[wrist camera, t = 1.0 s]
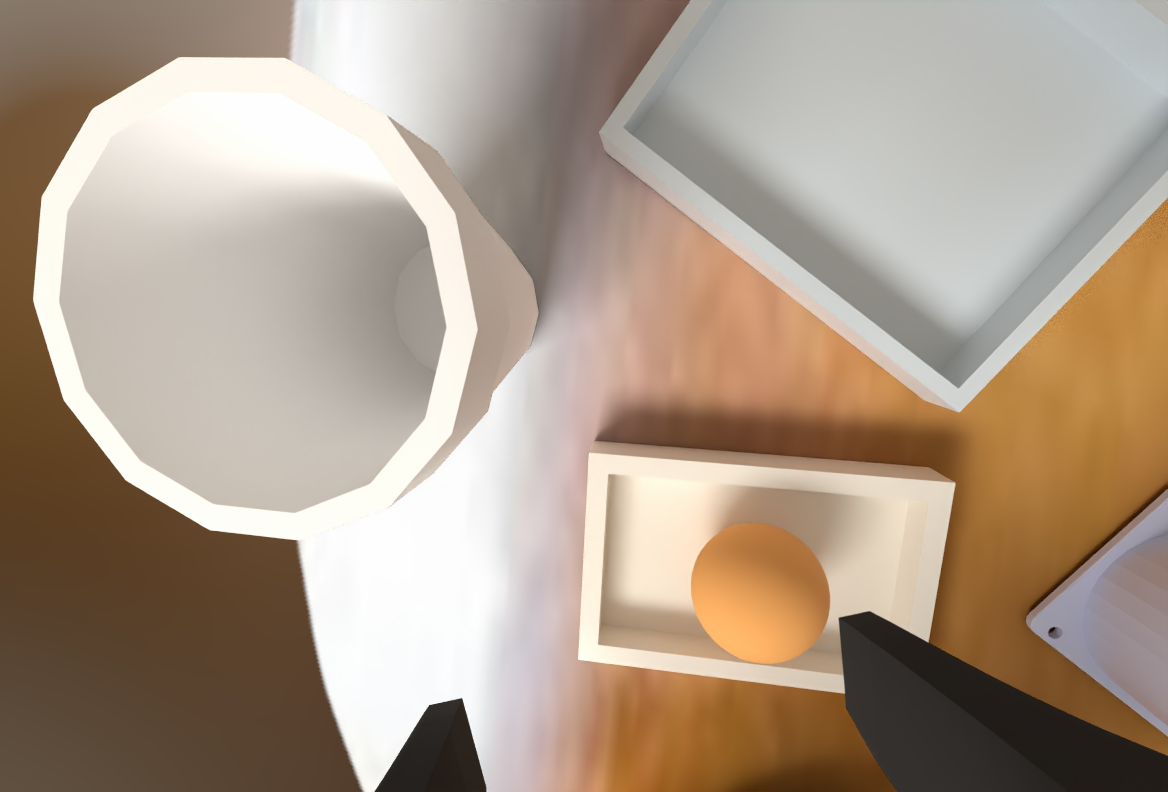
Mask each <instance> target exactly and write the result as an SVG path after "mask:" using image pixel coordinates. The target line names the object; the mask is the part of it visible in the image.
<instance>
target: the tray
mask: <svg viewBox="0 0 1168 792" xmlns="http://www.w3.org/2000/svg"><path fill="white" fill-rule="evenodd" d="M599 134H600V137H601V140H602V143H603V146H604V149H605V152H606V153H607V154H608V155H609V156H611V157H612V158H613V159H615V160H616V161H617V162H618V163H620V164H621V165H622V166H623V167H625V168H626V169H627V170H629V171H630V172H631V173H632V174H634V175H635V176H636V177H638V178H639V179H640V180H641V181H643V182H644V183H645V184H647V185H648V186H649V187H650V188H652V189H653V190H654V191H656V192H657V193H658V194H659V195H661V196H662V197H663V198H665V199H666V200H667V201H668V202H670V203H671V204H672V205H674V206H675V207H676V208H677V209H679V210H680V211H681V212H683V213H684V214H685V215H686V216H688V217H689V218H690V219H692V220H693V221H694V222H695V223H697V224H698V225H699V226H701V227H702V228H703V229H704V230H706V231H707V232H708V233H710V234H711V235H712V236H713V237H715V238H716V239H717V240H719V241H720V242H721V243H722V244H724V245H725V246H726V247H728V248H729V249H730V250H731V251H733V252H734V253H735V254H737V255H738V256H739V257H740V258H742V259H743V260H744V261H746V262H747V263H748V264H749V265H751V266H752V267H753V268H755V269H756V270H757V271H758V272H760V273H761V274H762V275H764V276H765V277H766V278H767V279H769V280H770V281H771V282H773V283H774V284H775V285H776V286H778V287H779V288H780V289H782V290H783V291H784V292H785V293H787V294H788V295H789V296H791V297H792V298H793V299H794V300H796V301H797V302H798V303H800V304H801V305H802V306H803V307H805V308H806V309H807V310H809V311H810V312H811V313H812V314H814V315H815V316H816V317H818V318H819V319H820V320H821V321H823V322H824V323H825V324H827V325H828V326H829V327H830V328H832V329H833V330H834V331H836V332H837V333H838V334H839V335H841V336H842V337H843V338H845V339H846V340H847V341H848V342H850V343H851V344H852V345H853V346H855V347H856V348H857V349H859V350H860V351H861V352H862V353H864V354H865V355H866V356H868V357H869V358H870V359H871V360H873V361H874V362H875V363H877V364H878V365H879V366H880V367H882V368H883V369H884V370H886V371H887V372H888V373H889V374H891V375H892V376H893V377H895V378H896V379H897V380H898V381H900V382H901V383H902V384H904V385H905V386H906V387H907V388H909V389H910V390H911V391H913V392H914V393H915V394H916V395H918V396H919V397H920V398H922V399H923V400H925V401H928V402H931V403H933V404H936V405H939V406H942V407H945V408H948V409H951V410H953V411H956V412H960V411H961V410H962V409H963V408H964V407H965V406H966V405H967V404H968V403H969V402H970V401H971V400H972V399H973V398H974V397H975V396H976V395H977V394H978V393H979V392H980V391H981V390H982V389H983V388H984V387H985V386H986V385H987V383H988V382H989V381H990V380H991V379H992V378H993V377H994V376H995V375H996V374H997V373H998V372H999V371H1000V370H1001V369H1002V368H1003V367H1004V366H1005V365H1006V364H1007V363H1008V362H1009V361H1010V360H1011V359H1012V358H1013V357H1014V356H1015V355H1016V354H1017V353H1018V352H1019V350H1020V349H1021V348H1022V347H1023V346H1024V345H1025V344H1026V343H1027V342H1028V341H1029V340H1030V339H1031V338H1032V337H1033V336H1034V335H1035V334H1036V333H1037V332H1038V331H1039V330H1040V329H1041V328H1042V327H1043V326H1044V325H1045V324H1046V323H1047V322H1048V321H1049V320H1050V319H1051V317H1052V316H1053V315H1054V314H1055V313H1056V312H1057V311H1058V310H1059V309H1060V308H1061V307H1062V306H1063V305H1064V304H1065V303H1066V302H1067V301H1068V300H1069V299H1070V298H1071V297H1072V296H1073V295H1074V294H1075V293H1076V292H1077V291H1078V290H1079V289H1080V288H1081V287H1082V285H1083V284H1084V283H1085V282H1086V281H1087V280H1088V279H1089V278H1090V277H1091V276H1092V275H1093V274H1094V273H1095V272H1096V271H1097V270H1098V269H1099V268H1100V267H1101V266H1102V265H1103V264H1104V263H1105V262H1106V261H1107V260H1108V259H1109V258H1110V257H1111V256H1112V255H1113V254H1114V252H1115V251H1116V250H1117V249H1118V248H1119V247H1120V246H1121V245H1122V244H1123V243H1124V242H1125V241H1126V240H1127V239H1128V238H1129V237H1130V236H1131V235H1132V234H1133V233H1134V232H1135V231H1136V230H1137V229H1138V228H1139V227H1140V226H1141V225H1142V224H1143V223H1144V222H1145V221H1146V219H1147V218H1148V217H1149V216H1150V215H1151V214H1152V213H1153V212H1154V211H1155V210H1156V209H1157V208H1158V207H1159V206H1160V205H1161V204H1162V203H1163V202H1164V201H1165V200H1166V199H1167V198H1168V0H690V2H689V3H688V5H687V6H686V8H685V9H684V11H683V12H682V13H681V15H680V16H679V18H678V19H677V21H676V22H675V23H674V25H673V26H672V28H671V29H670V31H669V32H668V34H667V35H666V36H665V38H664V39H663V41H662V42H661V44H660V45H659V46H658V48H657V49H656V51H655V52H654V54H653V55H652V56H651V58H650V59H649V61H648V62H647V64H646V65H645V67H644V68H643V69H642V71H641V72H640V74H639V75H638V77H637V78H636V79H635V81H634V82H633V84H632V85H631V87H630V88H629V90H628V91H627V92H626V94H625V95H624V97H623V98H622V100H621V101H620V102H619V104H618V105H617V107H616V108H615V110H614V111H613V112H612V114H611V115H610V117H609V118H608V120H607V121H606V123H605V124H604V125H603V127H602V128H601V130H600V131H599Z"/></svg>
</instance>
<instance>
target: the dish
mask: <svg viewBox="0 0 1168 792" xmlns="http://www.w3.org/2000/svg"><path fill="white" fill-rule="evenodd" d="M955 484H956V483H955V482H953V481H952V480H950V479H948V478H947V477H945V476H943V475H941V474H940V473H938V472H936V471H935V470H933V469H931V468H930V467H921V466H908V465H895V464H883V463H870V462H858V461H845V460H832V459H820V458H807V457H795V456H782V455H769V454H757V453H744V452H732V451H719V450H707V449H694V448H681V447H669V446H656V445H644V444H631V443H618V442H606V441H594V443H593V445H592V447H591V450H590V452H589V464H588V483H587V502H586V522H585V541H584V560H583V579H582V599H581V618H580V637H579V656H578V660H585V661H593V662H601V663H609V664H617V665H624V666H632V667H640V668H648V669H656V670H664V671H671V672H679V673H687V674H695V675H703V676H711V677H718V678H726V679H734V680H742V681H750V682H758V683H766V684H773V685H781V686H789V687H797V688H805V689H813V690H820V691H828V692H836V693H844V694H845V687H844V676H843V664H842V653H841V642H840V630H839V619H838V618H839V617H844V616H848V615H853V614H858V613H862V612H867V611H871V612H873V613H875V614H876V615H878V616H880V617H882V618H884V619H886V620H888V621H890V622H892V623H894V624H895V625H897V626H899V627H901V628H903V629H905V630H906V631H908V632H910V633H912V634H914V635H916V636H917V637H919V638H921V639H923V640H925V641H927V642H929V636H930V630H931V624H932V619H933V613H934V607H935V601H936V595H937V589H938V583H939V577H940V572H941V566H942V560H943V554H944V548H945V542H946V536H947V531H948V525H949V519H950V513H951V507H952V501H953V495H954V489H955ZM744 523H763V524H768V525H772V526H776V527H778V528H781V529H784V530H786V531H788V532H789V533H791V534H793V535H794V536H796V537H797V538H798V539H800V540H801V541H802V542H803V543H804V544H806V545H807V546H808V548H809V549H810V550H811V551H812V552H813V553H814V555H815V556H816V557H817V559H818V560H819V562H820V564H821V566H822V568H823V570H824V572H825V574H826V578H827V581H828V585H829V591H830V610H829V616H828V620H827V623H826V625H825V628H824V630H823V632H822V634H821V635H820V637H819V638H818V640H817V641H816V642H815V643H814V644H813V646H811V647H810V648H809V649H808V650H807V651H806V652H804V653H803V654H801V655H800V656H798V657H796V658H794V659H791V660H788V661H786V662H781V663H774V664H761V663H754V662H750V661H746V660H743V659H741V658H738V657H736V656H734V655H732V654H731V653H729V652H727V651H726V650H724V649H723V648H722V647H720V646H719V645H718V644H717V643H716V642H715V641H714V640H713V639H712V638H711V637H710V636H709V634H708V633H707V632H706V631H705V629H704V628H703V626H702V624H701V623H700V621H699V619H698V617H697V615H696V612H695V609H694V606H693V601H692V596H691V576H692V571H693V567H694V564H695V561H696V559H697V557H698V555H699V553H700V551H701V550H702V549H703V547H704V546H705V545H706V543H707V542H708V541H709V540H710V539H711V538H712V537H714V536H715V535H716V534H718V533H719V532H721V531H723V530H724V529H727V528H729V527H732V526H735V525H738V524H744Z"/></svg>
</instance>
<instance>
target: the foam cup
mask: <svg viewBox="0 0 1168 792" xmlns="http://www.w3.org/2000/svg"><path fill="white" fill-rule="evenodd" d="M33 301H34V304H35V308H36V311H37V314H38V318H39V321H40V324H41V327H42V331H43V334H44V337H45V340H46V343H47V347H48V350H49V353H50V356H51V360H52V363H53V366H54V370H55V373H56V376H57V379H58V383H59V386H60V389H61V392H62V396H63V399H64V401H65V402H66V403H67V405H68V406H69V407H70V409H71V410H72V411H73V412H74V414H75V415H76V416H77V418H78V419H79V420H80V422H81V423H82V424H83V425H84V427H85V428H86V429H87V431H88V432H89V433H90V434H91V436H92V437H93V438H94V440H95V441H96V442H97V443H98V445H99V446H100V447H101V449H102V450H103V451H104V452H105V454H106V455H107V456H108V457H109V459H110V460H111V462H112V463H113V464H114V465H115V467H116V468H117V469H118V470H119V472H120V473H121V474H122V476H123V477H124V478H125V480H127V481H128V482H130V483H131V484H133V485H135V486H137V487H138V488H140V489H141V490H143V491H145V492H147V493H148V494H150V495H152V496H153V497H155V498H157V499H158V500H160V501H162V502H163V503H165V504H167V505H168V506H170V507H172V508H173V509H175V510H177V511H179V512H180V513H182V514H184V515H185V516H187V517H189V518H190V519H192V520H194V521H195V522H197V523H199V524H200V525H202V526H204V527H205V528H207V529H209V530H215V531H223V532H232V533H240V534H249V535H258V536H267V537H275V538H284V539H293V540H301V541H302V540H305V539H307V538H310V537H312V536H315V535H318V534H320V533H323V532H326V531H328V530H331V529H334V528H336V527H339V526H342V525H344V524H347V523H350V522H352V521H355V520H358V519H360V518H363V517H366V516H368V515H371V514H373V513H376V512H379V511H381V510H384V509H387V508H389V507H390V506H391V505H393V504H394V503H395V502H397V501H398V500H399V499H400V498H402V497H403V496H404V495H406V494H407V493H408V492H410V491H411V490H412V489H414V488H415V487H416V486H418V485H419V484H420V483H422V482H423V481H424V480H425V479H427V478H428V477H429V476H431V475H432V474H433V473H434V472H435V471H436V470H437V469H438V468H439V467H440V465H441V464H442V463H443V462H444V461H445V460H446V459H447V457H448V456H449V455H450V454H451V453H452V452H453V451H454V449H455V448H456V447H457V446H458V445H459V444H460V443H461V441H462V440H463V439H464V438H465V437H466V436H467V435H468V433H469V432H470V431H471V430H472V429H473V428H474V427H475V425H476V424H477V423H478V422H479V421H480V420H481V419H482V417H483V416H484V415H485V414H486V413H487V412H488V409H489V405H490V401H491V397H492V393H493V391H494V390H495V389H496V388H497V386H498V385H499V384H500V383H501V382H502V380H503V379H504V378H505V377H506V375H507V374H508V373H509V372H510V371H511V369H512V368H513V367H514V366H515V364H516V363H517V362H518V361H519V360H520V358H521V357H522V356H523V355H524V353H525V352H526V351H527V350H528V349H529V347H530V345H531V342H532V338H533V334H534V330H535V327H536V323H537V319H538V316H539V311H538V305H537V299H536V294H535V288H534V283H533V279H532V278H531V276H530V275H529V273H528V272H527V271H526V269H525V268H524V266H523V265H522V263H521V262H520V261H519V259H518V258H517V256H516V255H515V253H514V252H513V251H512V249H511V248H510V247H509V246H508V245H507V243H506V242H505V241H504V240H503V239H502V238H501V237H500V235H499V234H498V233H497V232H496V231H495V230H494V229H493V227H492V226H491V225H490V224H489V223H488V222H487V221H486V220H485V218H484V217H483V216H482V215H481V213H480V212H479V210H478V209H477V207H476V206H475V205H474V203H473V202H472V200H471V199H470V197H469V196H468V195H467V193H466V192H465V190H464V189H463V187H462V186H461V185H460V183H459V182H458V180H457V179H456V177H455V176H454V174H453V173H452V172H451V170H450V169H449V167H448V166H447V164H446V163H445V162H444V160H443V159H442V157H441V156H440V154H439V153H438V152H437V150H435V149H434V148H432V147H431V146H430V145H428V144H427V143H425V142H424V141H423V140H421V139H420V138H418V137H417V136H416V135H414V134H413V133H411V132H410V131H408V130H407V129H406V128H404V127H403V126H401V125H400V124H399V123H397V122H396V121H394V120H393V119H392V118H390V117H389V116H387V115H386V114H384V113H382V112H381V111H379V110H377V109H375V108H373V107H372V106H370V105H368V104H366V103H365V102H363V101H361V100H359V99H357V98H356V97H354V96H352V95H350V94H348V93H347V92H345V91H343V90H341V89H340V88H338V87H336V86H334V85H332V84H331V83H329V82H327V81H325V80H323V79H322V78H320V77H318V76H316V75H315V74H313V73H311V72H309V71H307V70H306V69H304V68H302V67H300V66H299V65H297V64H295V63H293V62H291V61H290V60H288V59H286V58H187V57H183V58H182V57H179V58H177V59H176V60H174V61H172V62H171V63H169V64H167V65H166V66H164V67H162V68H161V69H159V70H157V71H156V72H154V73H152V74H151V75H149V76H147V77H145V78H144V79H142V80H140V81H139V82H137V83H135V84H134V85H132V86H130V87H129V88H127V89H125V90H124V91H122V92H120V93H119V94H117V95H115V96H114V97H112V98H110V99H109V100H107V101H105V102H103V103H102V104H100V105H99V106H97V107H95V108H93V109H92V111H91V112H90V114H89V116H88V118H87V120H86V121H85V123H84V125H83V126H82V128H81V130H80V132H79V133H78V135H77V137H76V138H75V140H74V142H73V144H72V145H71V147H70V149H69V151H68V152H67V155H66V156H65V158H64V159H63V161H62V163H61V165H60V167H59V168H58V170H57V171H56V173H55V175H54V177H53V179H52V180H51V182H50V184H49V185H48V187H47V189H46V191H45V192H44V194H43V196H42V201H41V213H40V225H39V237H38V249H37V261H36V273H35V285H34V297H33Z"/></svg>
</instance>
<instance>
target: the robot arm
mask: <svg viewBox="0 0 1168 792" xmlns="http://www.w3.org/2000/svg"><path fill="white" fill-rule="evenodd" d="M838 619H839V630H840V642H841V653H842V664H843V676H844V687H845V699H846V709H847V710H848V712H849V714H850V716H851V718H852V719H853V721H854V723H855V725H856V727H857V728H858V730H859V732H860V734H861V736H862V737H863V739H864V741H865V742H866V744H867V746H868V748H869V749H870V751H871V753H872V754H873V756H874V758H875V759H876V761H877V763H878V765H879V766H880V768H881V769H882V770H883V772H884V773H885V775H886V776H887V778H888V779H889V780H890V782H891V783H892V785H893V786H894V787H895V789H896V790H897V792H1168V756H1166V755H1164V754H1161V753H1159V752H1157V751H1154V750H1152V749H1149V748H1147V747H1144V746H1142V745H1140V744H1137V743H1135V742H1132V741H1130V740H1128V739H1125V738H1123V737H1120V736H1118V735H1116V734H1113V733H1111V732H1108V731H1106V730H1104V729H1101V728H1099V727H1097V726H1094V725H1092V724H1090V723H1088V722H1085V721H1083V720H1081V719H1079V718H1077V717H1074V716H1072V715H1070V714H1068V713H1066V712H1064V711H1062V710H1060V709H1057V708H1055V707H1053V706H1051V705H1049V704H1047V703H1045V702H1043V701H1041V700H1038V699H1036V698H1034V697H1032V696H1030V695H1028V694H1026V693H1024V692H1022V691H1020V690H1018V689H1016V688H1014V687H1012V686H1010V685H1008V684H1006V683H1004V682H1002V681H1000V680H998V679H996V678H994V677H992V676H990V675H988V674H986V673H984V672H982V671H981V670H979V669H977V668H975V667H973V666H971V665H969V664H967V663H965V662H963V661H962V660H960V659H958V658H956V657H954V656H952V655H950V654H949V653H947V652H945V651H943V650H941V649H939V648H938V647H936V646H934V645H932V644H930V643H928V642H927V641H925V640H923V639H921V638H919V637H917V636H916V635H914V634H912V633H910V632H908V631H906V630H905V629H903V628H901V627H899V626H897V625H895V624H894V623H892V622H890V621H888V620H886V619H884V618H882V617H880V616H878V615H876V614H875V613H873V612H871V611H867V612H862V613H858V614H853V615H848V616H844V617H839V618H838ZM1026 624H1027V626H1028V627H1029V628H1030V629H1031V630H1032V631H1033V632H1034V633H1035V634H1037V635H1038V636H1039V637H1041V638H1042V639H1043V640H1044V641H1046V642H1047V643H1048V644H1050V645H1051V646H1052V647H1053V648H1055V649H1056V650H1057V651H1059V652H1060V653H1061V654H1062V655H1064V656H1065V657H1066V658H1068V659H1069V660H1070V661H1071V662H1073V663H1074V664H1075V665H1076V666H1078V667H1079V668H1080V669H1082V670H1083V671H1084V672H1085V673H1087V674H1088V675H1089V676H1091V677H1092V678H1093V679H1094V680H1096V681H1097V682H1098V683H1100V684H1101V685H1102V686H1103V687H1105V688H1106V689H1107V690H1109V691H1110V692H1111V693H1112V694H1114V695H1115V696H1116V697H1118V698H1119V699H1120V700H1121V701H1123V702H1124V703H1125V704H1127V705H1128V706H1129V707H1130V708H1132V709H1133V710H1134V711H1136V712H1137V713H1138V714H1139V715H1141V716H1142V717H1143V718H1145V719H1146V720H1147V721H1148V722H1150V723H1151V724H1152V725H1154V726H1155V727H1156V728H1157V729H1159V730H1160V731H1161V732H1163V733H1164V734H1165V735H1166V736H1168V489H1167V490H1166V491H1165V492H1164V493H1162V494H1161V495H1160V496H1159V497H1158V498H1157V499H1156V500H1155V501H1154V502H1152V503H1151V504H1150V505H1149V506H1148V507H1147V508H1146V509H1145V510H1143V511H1142V512H1141V513H1140V514H1139V515H1138V516H1137V517H1136V518H1135V519H1133V520H1132V521H1131V522H1130V523H1129V524H1128V525H1127V526H1126V527H1125V528H1123V529H1122V530H1121V531H1120V532H1119V533H1118V534H1117V535H1116V536H1115V537H1113V538H1112V539H1111V540H1110V541H1109V542H1108V543H1107V544H1106V545H1105V546H1103V547H1102V548H1101V549H1100V550H1099V551H1098V552H1097V553H1096V554H1094V555H1093V556H1092V557H1091V558H1090V559H1089V560H1088V561H1087V562H1086V563H1084V564H1083V565H1082V566H1081V567H1080V568H1079V569H1078V570H1077V571H1076V572H1074V573H1073V574H1072V575H1071V576H1070V577H1069V578H1068V579H1067V580H1066V581H1064V582H1063V583H1062V584H1061V585H1060V586H1059V587H1058V588H1057V589H1056V590H1054V591H1053V592H1052V593H1051V594H1050V595H1049V596H1048V597H1047V598H1046V599H1044V600H1043V601H1042V602H1041V603H1040V604H1039V605H1038V606H1037V607H1035V608H1034V609H1033V610H1032V611H1031V612H1030V613H1029V614H1028V616H1027V618H1026ZM1052 627H1055V630H1054V631H1053V632H1051V633H1048V631H1049V629H1050V628H1052ZM375 792H486V785H485V781H484V777H483V774H482V770H481V766H480V762H479V759H478V755H477V751H476V748H475V744H474V740H473V737H472V733H471V729H470V726H469V722H468V718H467V714H466V711H465V707H464V703H463V700H462V698H461V699H456V700H451V701H447V702H442V703H437V704H433V705H429V707H428V708H427V709H426V711H425V712H424V714H423V716H422V717H421V719H420V720H419V722H418V723H417V725H416V727H415V728H414V730H413V731H412V733H411V735H410V736H409V738H408V740H407V741H406V743H405V744H404V746H403V748H402V749H401V751H400V753H399V754H398V756H397V757H396V759H395V761H394V762H393V764H392V765H391V767H390V768H389V770H388V772H387V773H386V775H385V776H384V778H383V780H382V781H381V783H380V784H379V786H378V787H377V789H376V790H375Z"/></svg>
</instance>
